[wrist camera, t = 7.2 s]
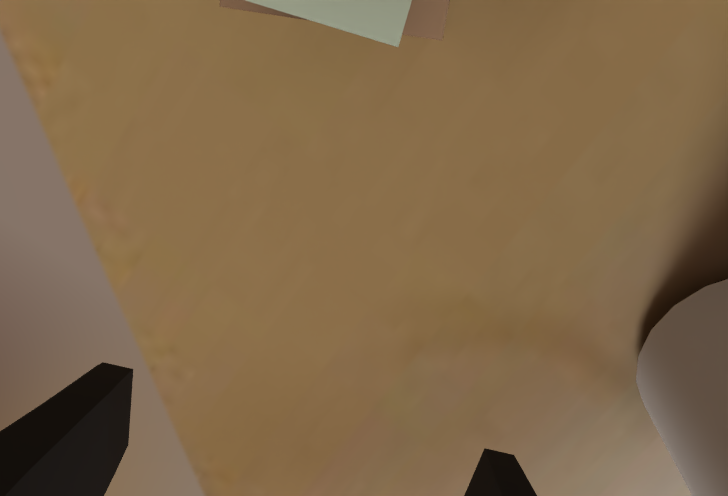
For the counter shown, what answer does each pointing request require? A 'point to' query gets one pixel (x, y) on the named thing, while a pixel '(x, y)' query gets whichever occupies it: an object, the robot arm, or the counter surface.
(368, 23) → the green block
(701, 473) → the can
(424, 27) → the walnut slab
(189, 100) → the counter surface
